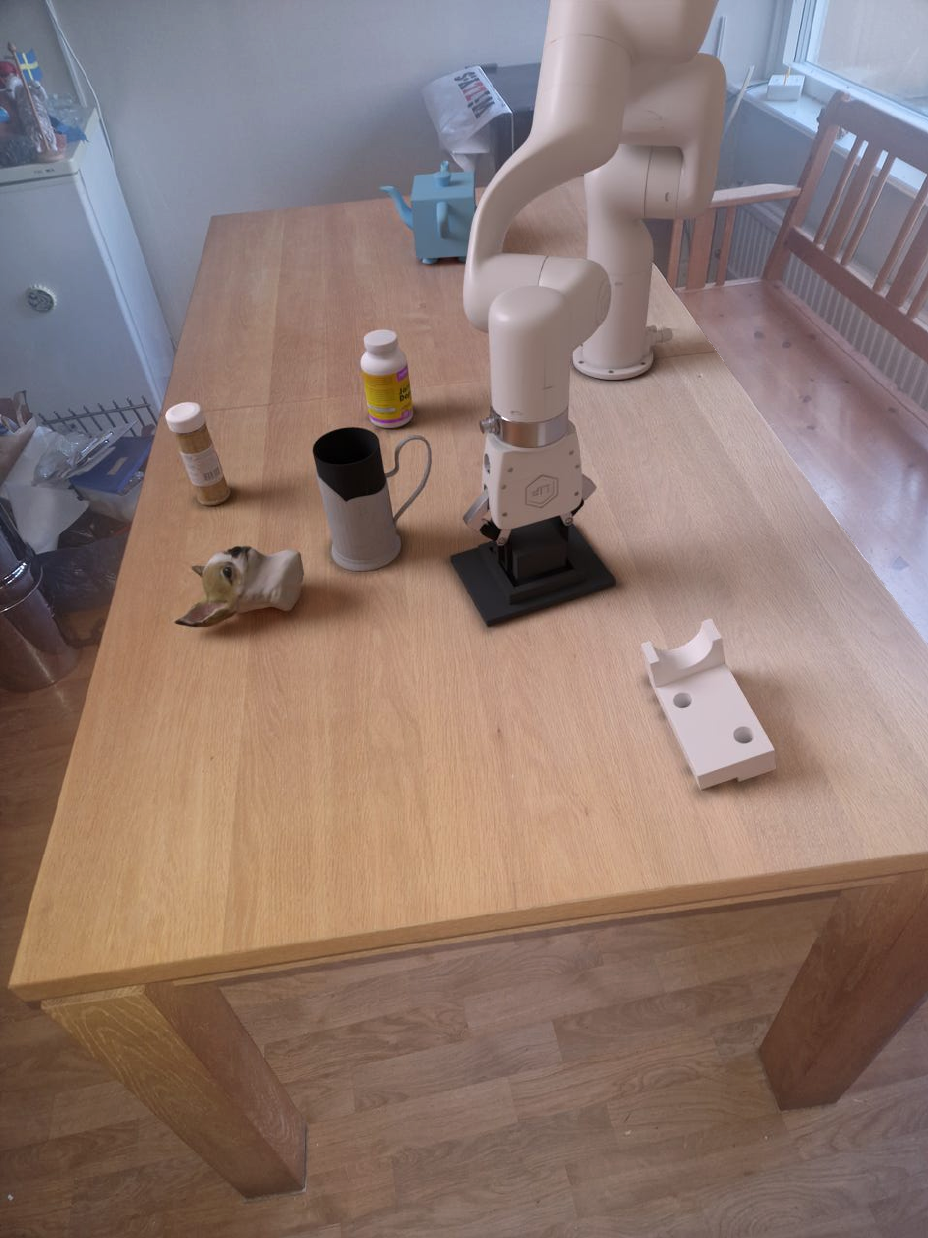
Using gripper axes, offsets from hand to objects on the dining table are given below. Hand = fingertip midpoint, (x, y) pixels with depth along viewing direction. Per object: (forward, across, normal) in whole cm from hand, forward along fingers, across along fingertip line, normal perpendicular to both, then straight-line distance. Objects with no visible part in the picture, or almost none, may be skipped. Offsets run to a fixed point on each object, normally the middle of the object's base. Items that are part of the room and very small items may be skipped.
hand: (530, 553), depth 92 cm
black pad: (+1, 0, 0) cm, 1 cm away
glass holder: (+3, -14, +13) cm, 19 cm away
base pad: (+3, 0, 0) cm, 3 cm away
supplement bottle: (+3, -5, +40) cm, 40 cm away
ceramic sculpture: (+3, -32, +9) cm, 33 cm away
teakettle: (+3, +24, +95) cm, 98 cm away
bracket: (+3, +6, -27) cm, 28 cm away
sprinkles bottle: (+3, -33, +32) cm, 46 cm away
